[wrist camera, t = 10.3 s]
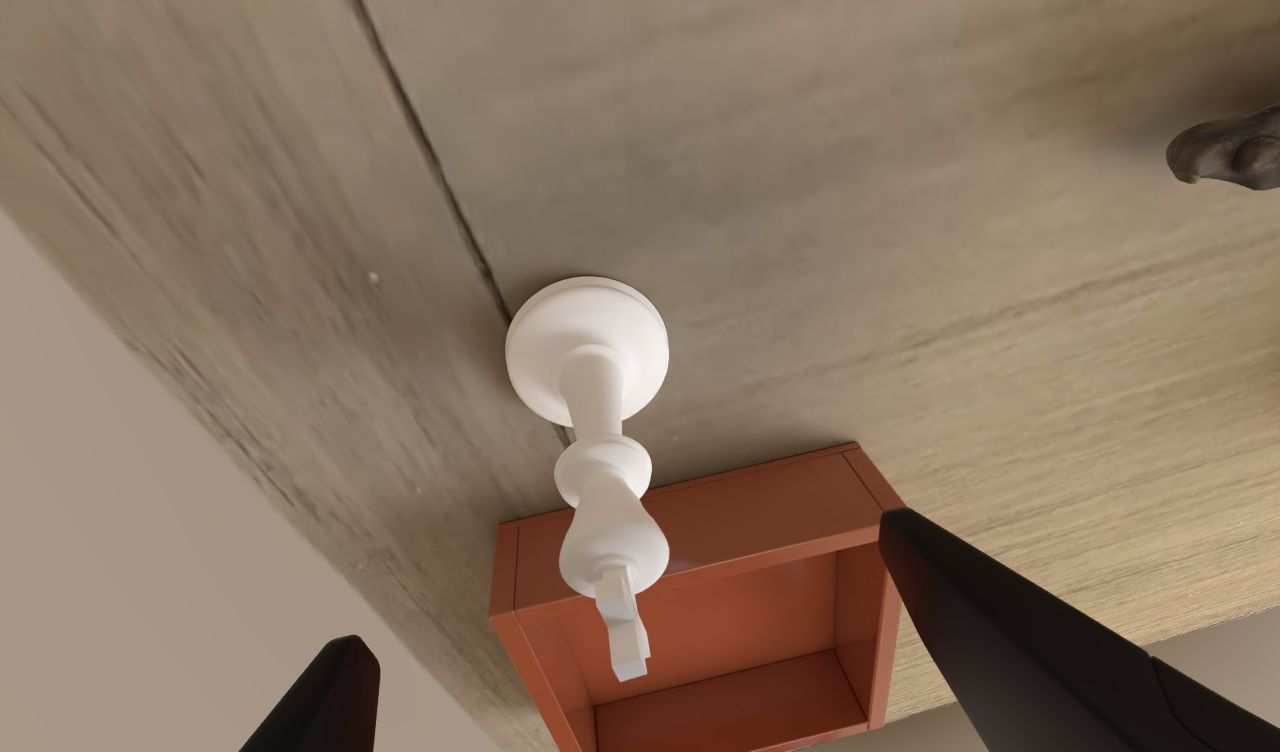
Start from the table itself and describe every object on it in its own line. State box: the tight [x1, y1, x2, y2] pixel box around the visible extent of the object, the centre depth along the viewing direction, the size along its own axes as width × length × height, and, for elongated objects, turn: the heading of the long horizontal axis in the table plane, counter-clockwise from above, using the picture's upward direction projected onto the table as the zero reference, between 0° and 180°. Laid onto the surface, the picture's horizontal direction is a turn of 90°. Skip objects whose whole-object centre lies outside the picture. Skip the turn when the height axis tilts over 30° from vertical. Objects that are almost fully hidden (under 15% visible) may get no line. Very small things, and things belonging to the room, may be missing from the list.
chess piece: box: [505, 276, 669, 682], centre depth 12 cm, size 5×5×10 cm
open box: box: [488, 442, 907, 752], centre depth 22 cm, size 14×14×4 cm
